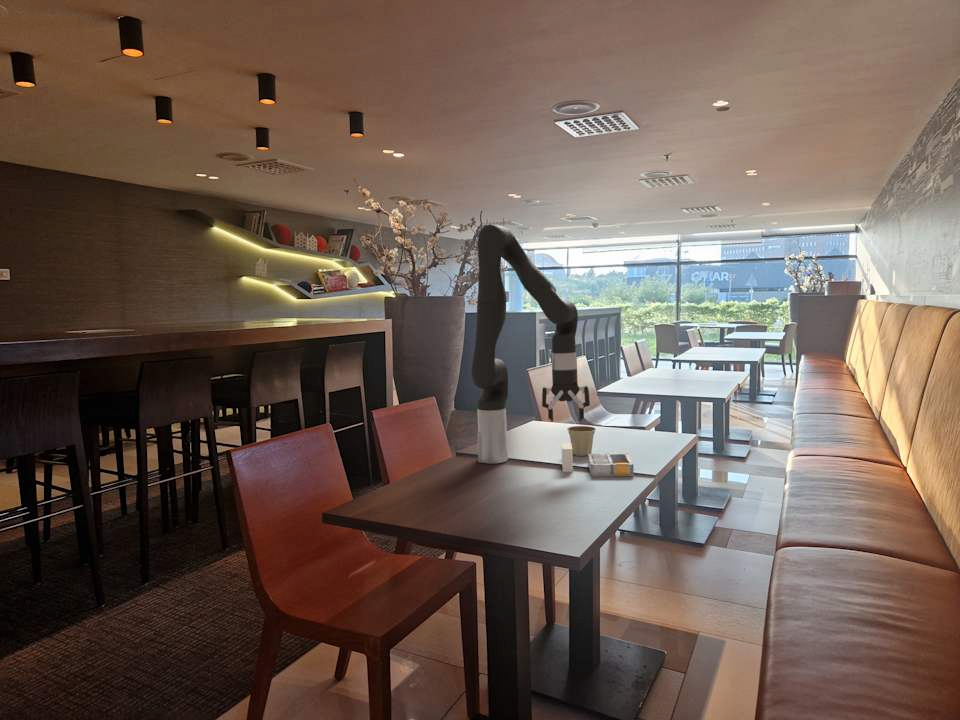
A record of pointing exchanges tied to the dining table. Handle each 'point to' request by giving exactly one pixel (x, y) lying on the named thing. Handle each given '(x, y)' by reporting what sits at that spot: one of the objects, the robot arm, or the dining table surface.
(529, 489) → the dining table surface
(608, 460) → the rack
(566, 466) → the panel
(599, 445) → the dining table surface
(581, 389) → the robot arm
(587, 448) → the flower pot
